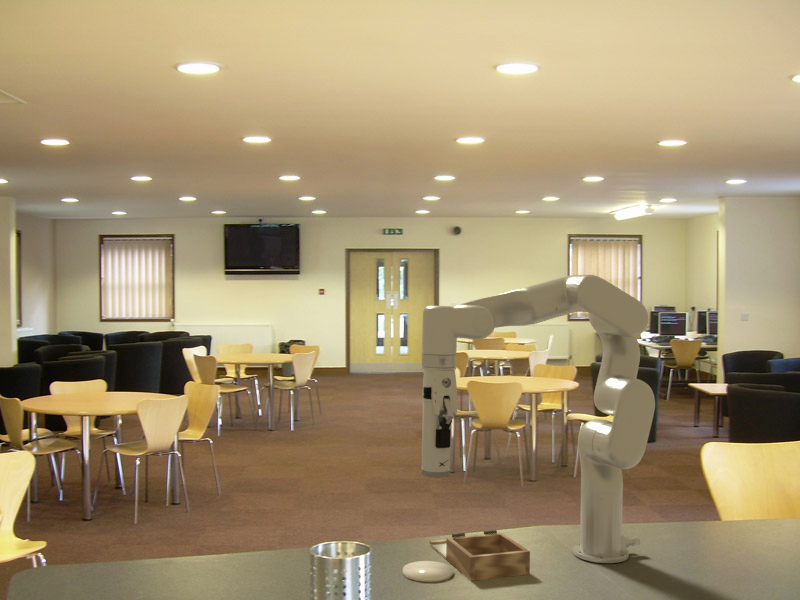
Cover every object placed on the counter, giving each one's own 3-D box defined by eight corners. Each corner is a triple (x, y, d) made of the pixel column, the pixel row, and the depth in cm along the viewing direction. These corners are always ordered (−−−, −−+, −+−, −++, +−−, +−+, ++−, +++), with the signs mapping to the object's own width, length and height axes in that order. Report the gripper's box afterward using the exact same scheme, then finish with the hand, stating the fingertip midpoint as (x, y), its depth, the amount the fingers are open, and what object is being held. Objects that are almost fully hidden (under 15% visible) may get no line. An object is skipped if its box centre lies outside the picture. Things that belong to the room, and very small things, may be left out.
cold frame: (482, 540, 203) (483, 516, 203) (529, 574, 179) (530, 547, 179) (429, 545, 199) (429, 521, 198) (470, 580, 175) (470, 553, 175)
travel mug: (449, 478, 176) (451, 385, 175) (419, 476, 177) (421, 383, 177) (453, 472, 182) (455, 381, 182) (424, 470, 183) (425, 380, 183)
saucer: (442, 562, 186) (442, 559, 186) (460, 579, 176) (461, 575, 176) (396, 567, 183) (396, 563, 183) (412, 584, 172) (412, 580, 172)
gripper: (470, 366, 172) (468, 451, 172) (440, 358, 189) (439, 437, 189) (436, 366, 170) (434, 453, 170) (409, 359, 186) (408, 438, 186)
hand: (437, 443), depth 179 cm, fingers closed on travel mug, 6 cm apart
